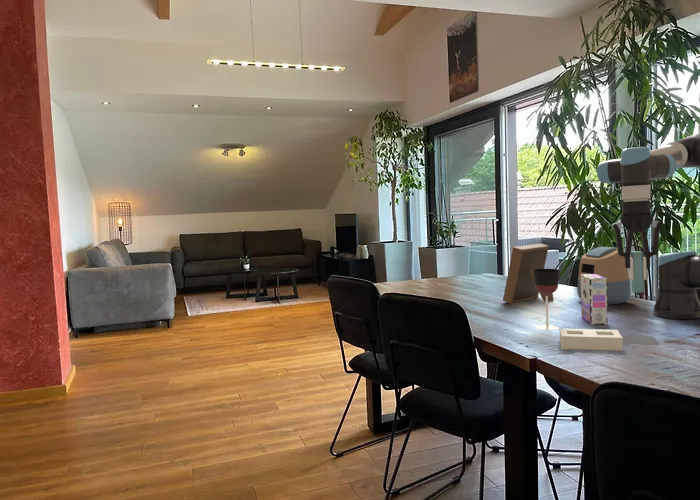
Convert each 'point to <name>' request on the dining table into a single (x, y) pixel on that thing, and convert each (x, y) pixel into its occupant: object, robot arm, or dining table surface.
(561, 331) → the hole block
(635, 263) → the peg
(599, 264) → the tan and grey appliance
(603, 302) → the candy box
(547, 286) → the wineglass
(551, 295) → the photo frame
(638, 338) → the mat
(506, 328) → the dining table surface
